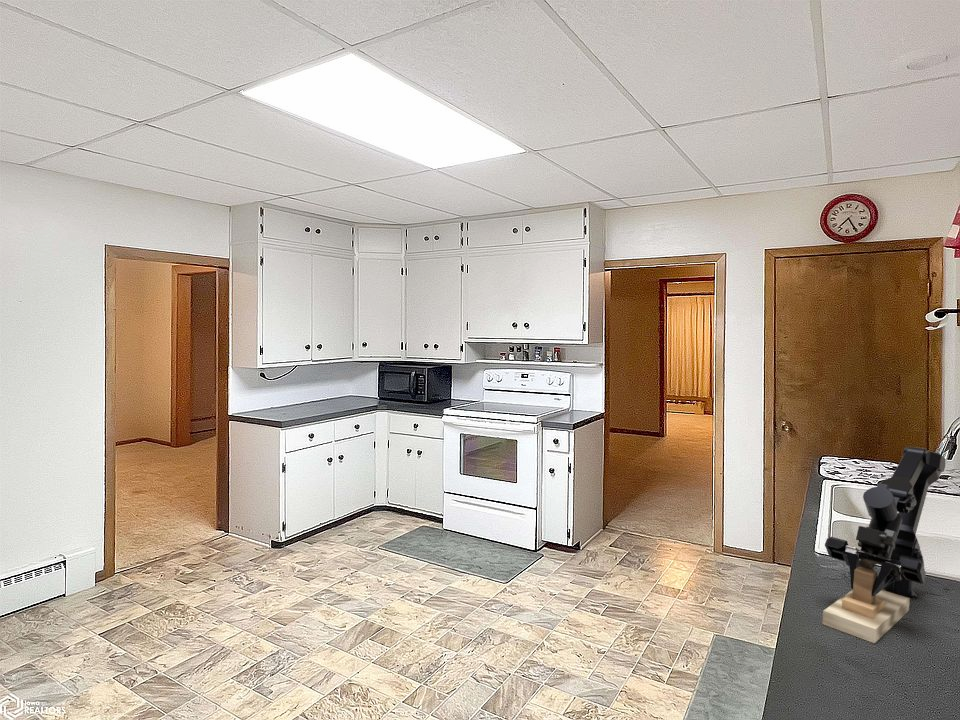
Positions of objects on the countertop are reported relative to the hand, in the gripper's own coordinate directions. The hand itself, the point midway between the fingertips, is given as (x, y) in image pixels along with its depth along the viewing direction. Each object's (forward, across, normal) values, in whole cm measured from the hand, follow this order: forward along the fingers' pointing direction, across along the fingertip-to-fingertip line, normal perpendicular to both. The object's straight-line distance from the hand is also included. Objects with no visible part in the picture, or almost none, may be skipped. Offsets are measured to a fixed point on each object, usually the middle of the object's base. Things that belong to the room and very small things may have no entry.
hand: (862, 592), depth 133 cm
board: (+2, 0, +8) cm, 8 cm away
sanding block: (+2, 0, +4) cm, 4 cm away
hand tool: (-24, -11, +35) cm, 44 cm away
